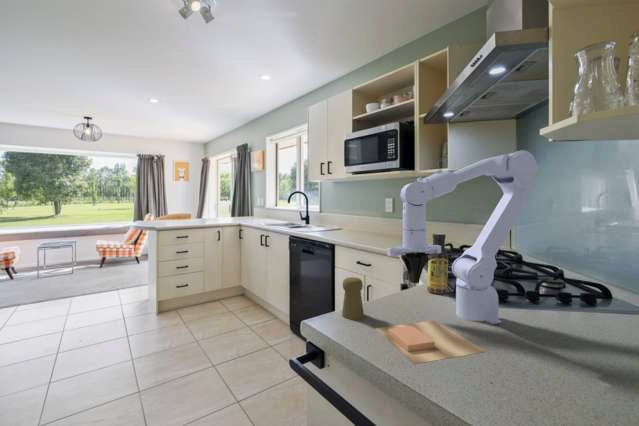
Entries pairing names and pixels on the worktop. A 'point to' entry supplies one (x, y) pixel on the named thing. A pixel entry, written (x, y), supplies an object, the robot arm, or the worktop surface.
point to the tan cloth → (444, 339)
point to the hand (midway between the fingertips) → (414, 282)
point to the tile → (411, 338)
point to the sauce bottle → (438, 267)
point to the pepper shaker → (352, 299)
